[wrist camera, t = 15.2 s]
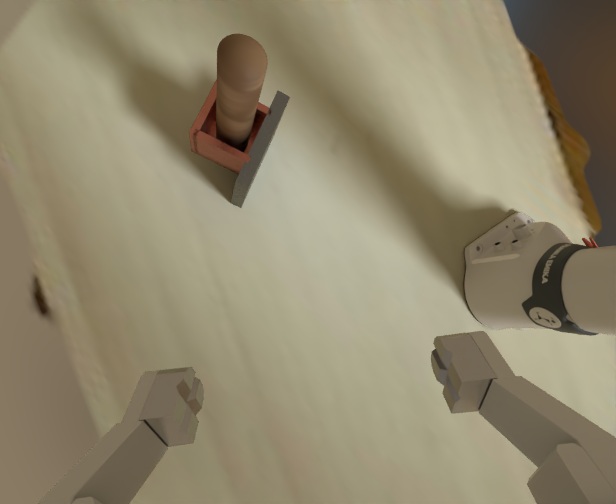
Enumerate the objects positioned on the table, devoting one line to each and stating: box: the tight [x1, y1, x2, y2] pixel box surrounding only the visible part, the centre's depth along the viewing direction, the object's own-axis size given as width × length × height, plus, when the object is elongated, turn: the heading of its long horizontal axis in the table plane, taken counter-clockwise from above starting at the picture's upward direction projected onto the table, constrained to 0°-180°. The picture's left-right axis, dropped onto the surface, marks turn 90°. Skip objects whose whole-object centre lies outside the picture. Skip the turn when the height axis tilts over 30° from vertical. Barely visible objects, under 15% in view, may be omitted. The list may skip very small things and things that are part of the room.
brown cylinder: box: [216, 34, 267, 152], centre depth 30 cm, size 4×4×14 cm
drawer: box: [189, 80, 290, 208], centre depth 37 cm, size 12×8×10 cm, turn 158°
